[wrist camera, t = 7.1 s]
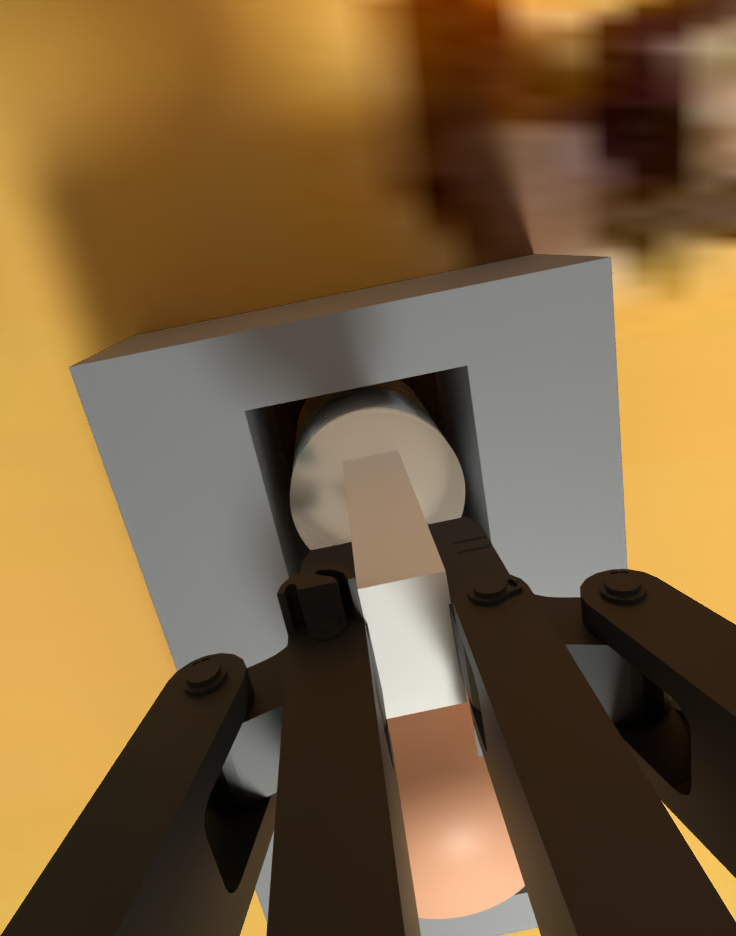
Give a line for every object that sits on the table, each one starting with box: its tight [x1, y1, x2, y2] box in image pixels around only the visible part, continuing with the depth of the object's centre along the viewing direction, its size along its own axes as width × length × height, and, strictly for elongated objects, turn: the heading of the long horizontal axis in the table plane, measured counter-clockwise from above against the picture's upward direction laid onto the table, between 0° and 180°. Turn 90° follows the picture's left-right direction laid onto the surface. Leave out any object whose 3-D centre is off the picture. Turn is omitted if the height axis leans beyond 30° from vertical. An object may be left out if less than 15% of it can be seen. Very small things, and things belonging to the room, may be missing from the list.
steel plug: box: [290, 379, 465, 550], centre depth 20 cm, size 5×5×6 cm
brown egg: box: [387, 689, 525, 919], centre depth 18 cm, size 5×5×6 cm
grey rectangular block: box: [69, 254, 628, 936], centre depth 23 cm, size 14×24×6 cm, turn 11°
